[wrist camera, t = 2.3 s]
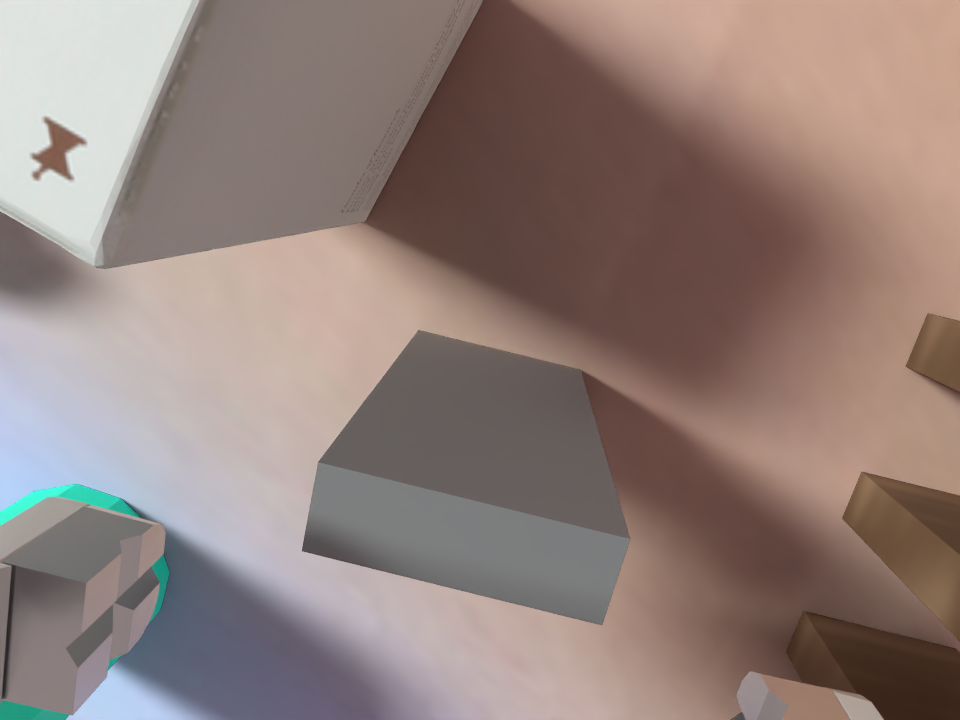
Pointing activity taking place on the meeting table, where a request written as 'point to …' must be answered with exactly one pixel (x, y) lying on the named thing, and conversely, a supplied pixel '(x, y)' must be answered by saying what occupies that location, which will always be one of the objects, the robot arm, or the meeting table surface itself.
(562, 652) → the meeting table surface
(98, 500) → the candle
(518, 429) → the gray domino
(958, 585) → the domino
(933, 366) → the domino
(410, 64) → the supplement box
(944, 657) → the domino
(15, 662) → the robot arm
